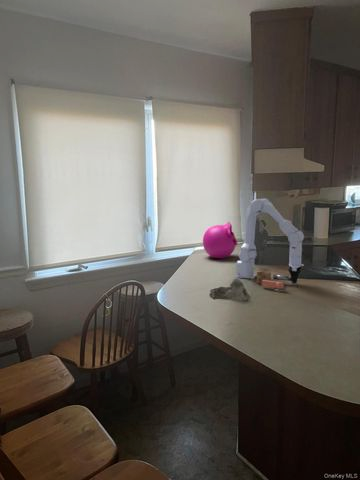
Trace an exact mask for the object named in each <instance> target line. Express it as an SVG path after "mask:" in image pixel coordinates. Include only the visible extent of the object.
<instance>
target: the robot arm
mask: <svg viewBox="0 0 360 480" xmlns="http://www.w3.org/2000/svg"><path fill="white" fill-rule="evenodd" d="M260 213H265V214H268V215H269V216H271V217H272V219H274V220H275V221H276V222H277V224H278V227H279V229H280V230H281V231H282V232H283V233H284V234H285V236H286V237H287V239H288V242H289V255H288V256H289V258H288V259H289V261H288V262H289V263H288V266H289V268H288V272H289V274H290V275H289V276H291V280H292V281H291V284H292V283H298V278H299V274H300V272H301V269H302V267H304V263H302V253H303V252H302V251H303V246H302V245H303V241H304V239H305V235H304V233H303V231H301V230H299V229H298V228H296V226H294V225H293V224H292V223H293V222H292V220H288V219H285V218H284V217H283V216H282V214H280V212H279V211H278V210H277V209H276V207H274V205H273V203H272V202H271V201H270V200H269V199H268V198H255V199H253V200H252V201H250V204H249V206H248V207H247V209H246V212H245V222H244V223H245V224H244V225H245V226H244V237H243V239H244V240H243V244H242V246H241V247H240V251H239V253H238V258H239V260H237V261H236V278H238V279H240V278H243V279H252V280H253V279H254V278H255V277H257V273H256V274H255V259H256V258H257V255H258V254H257V253H258V252H257V246H256V245H255V236H256V235H255V234H256V224H257V223H256V221H257V216H258V215H259V214H260Z"/></svg>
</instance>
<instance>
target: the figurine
mask: <svg viewBox="0 0 360 480" xmlns="http://www.w3.org/2000/svg"><path fill="white" fill-rule="evenodd" d="M202 245H203V249H204V251H205V253H206V254H207V255H208V256H209V257H212V258H215V259H224V258H227V257H230V255H232V254H233V252H234V251H235V250H236V246H238V240H237V238H236V236H235V233H234V232H233V226H232V222H230V221H227V223H225V224H216V225H213V226H210V227H209V228H207V229H206V231H205V232H204V233H203V238H202Z"/></svg>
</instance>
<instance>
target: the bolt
mask: <svg viewBox="0 0 360 480" xmlns="http://www.w3.org/2000/svg"><path fill="white" fill-rule="evenodd" d="M272 277H273V280H272V281H286V282H287V281H288V282H291V284H290V285H291V286H297V283H298V282H297V283H292V280H291V275H280V274H273V276H272Z"/></svg>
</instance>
